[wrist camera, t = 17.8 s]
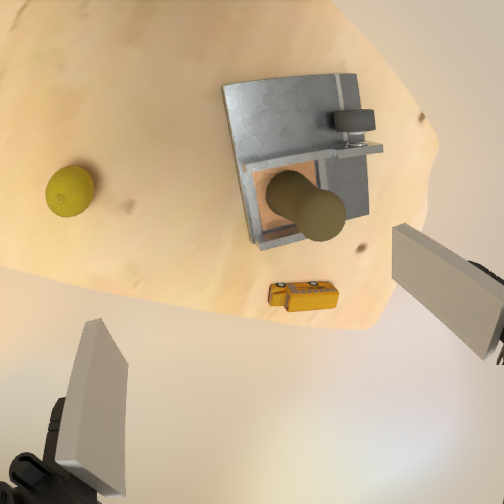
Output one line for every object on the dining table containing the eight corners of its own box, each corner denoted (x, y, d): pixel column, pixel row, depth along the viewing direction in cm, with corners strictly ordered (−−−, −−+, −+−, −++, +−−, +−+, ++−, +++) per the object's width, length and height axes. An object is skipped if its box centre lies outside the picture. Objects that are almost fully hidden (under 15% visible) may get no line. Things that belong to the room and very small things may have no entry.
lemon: (93, 211, 35) (76, 233, 28) (55, 198, 33) (31, 217, 26) (106, 169, 34) (90, 182, 27) (67, 156, 32) (43, 165, 25)
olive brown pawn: (272, 223, 40) (306, 259, 30) (259, 179, 37) (291, 201, 28) (315, 207, 41) (359, 237, 31) (304, 163, 38) (349, 181, 28)
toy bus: (269, 282, 46) (277, 296, 42) (328, 279, 48) (340, 292, 45) (266, 301, 47) (274, 315, 44) (324, 297, 50) (335, 310, 46)
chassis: (221, 86, 33) (230, 80, 28) (350, 74, 36) (375, 70, 31) (250, 239, 42) (262, 258, 37) (363, 211, 45) (387, 224, 39)
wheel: (326, 112, 36) (346, 112, 31) (359, 109, 36) (381, 109, 32) (329, 134, 37) (349, 137, 33) (361, 130, 38) (384, 133, 33)
